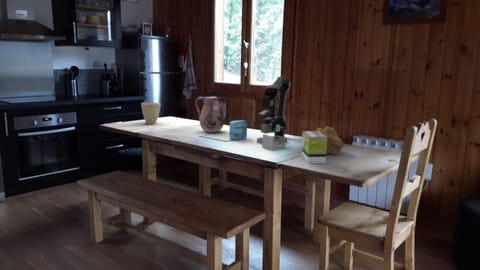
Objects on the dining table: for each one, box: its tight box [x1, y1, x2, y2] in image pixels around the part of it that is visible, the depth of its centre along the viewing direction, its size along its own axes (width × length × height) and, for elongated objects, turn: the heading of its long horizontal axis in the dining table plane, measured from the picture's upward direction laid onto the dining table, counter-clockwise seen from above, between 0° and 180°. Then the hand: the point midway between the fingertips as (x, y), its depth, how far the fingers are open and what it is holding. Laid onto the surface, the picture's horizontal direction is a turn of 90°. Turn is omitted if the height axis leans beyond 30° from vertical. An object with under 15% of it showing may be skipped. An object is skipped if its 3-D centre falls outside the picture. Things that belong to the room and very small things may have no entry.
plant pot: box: [141, 102, 161, 125], centre depth 304 cm, size 15×15×16 cm
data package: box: [228, 119, 248, 141], centre depth 255 cm, size 12×4×12 cm, turn 133°
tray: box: [256, 135, 288, 145], centre depth 248 cm, size 18×10×3 cm, turn 125°
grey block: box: [261, 133, 287, 152], centre depth 232 cm, size 12×9×8 cm
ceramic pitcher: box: [194, 96, 225, 133], centre depth 277 cm, size 18×21×25 cm
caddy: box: [260, 123, 280, 134], centre depth 246 cm, size 13×4×5 cm, turn 125°
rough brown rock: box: [315, 126, 344, 156], centre depth 223 cm, size 23×17×15 cm
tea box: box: [301, 130, 327, 164], centre depth 206 cm, size 15×10×15 cm, turn 5°
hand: (270, 130), depth 246 cm, fingers closed on caddy, 4 cm apart
